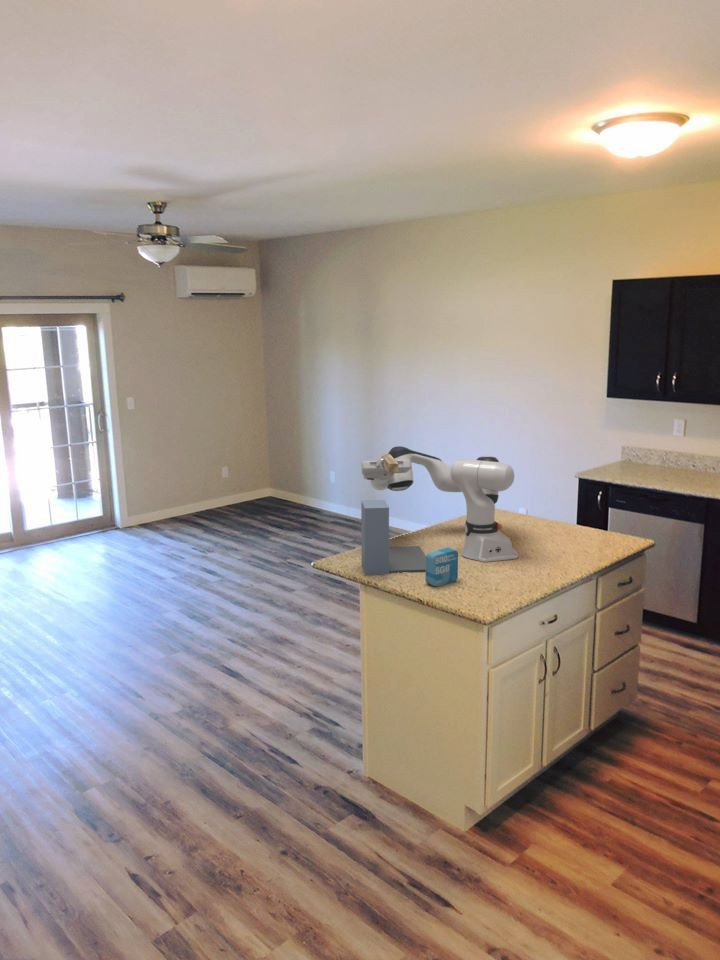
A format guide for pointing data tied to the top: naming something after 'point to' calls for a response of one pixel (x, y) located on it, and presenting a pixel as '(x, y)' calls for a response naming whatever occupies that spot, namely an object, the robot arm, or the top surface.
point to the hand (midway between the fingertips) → (388, 460)
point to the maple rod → (390, 463)
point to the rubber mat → (406, 559)
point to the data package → (441, 566)
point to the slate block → (375, 537)
